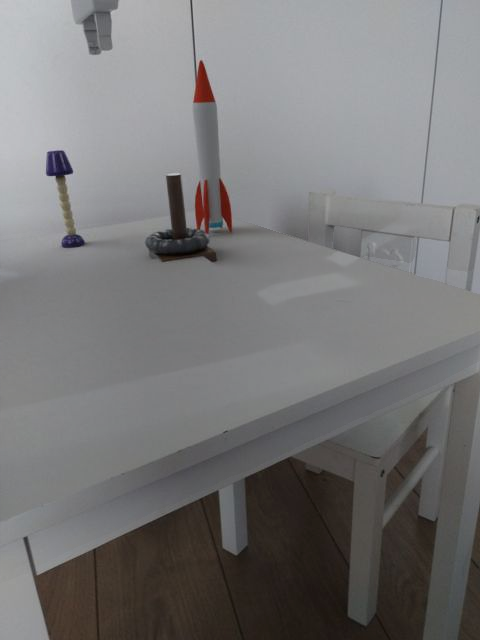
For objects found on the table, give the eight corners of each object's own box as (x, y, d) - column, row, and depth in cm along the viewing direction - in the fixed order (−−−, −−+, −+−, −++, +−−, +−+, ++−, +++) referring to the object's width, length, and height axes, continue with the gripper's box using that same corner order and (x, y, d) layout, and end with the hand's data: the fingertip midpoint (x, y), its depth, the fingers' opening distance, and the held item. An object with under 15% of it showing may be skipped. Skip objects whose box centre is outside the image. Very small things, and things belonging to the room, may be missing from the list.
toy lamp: (54, 245, 107) (36, 151, 100) (75, 240, 110) (58, 149, 103) (71, 248, 104) (53, 152, 97) (91, 242, 108) (75, 149, 101)
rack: (163, 269, 90) (152, 180, 84) (149, 256, 97) (138, 174, 91) (216, 260, 93) (210, 174, 87) (199, 248, 100) (192, 168, 95)
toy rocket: (233, 232, 110) (223, 58, 98) (206, 236, 108) (192, 59, 95) (222, 227, 115) (211, 60, 102) (196, 231, 113) (181, 61, 100)
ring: (154, 260, 89) (152, 245, 88) (141, 245, 98) (139, 231, 97) (217, 250, 92) (216, 236, 91) (199, 237, 101) (198, 224, 100)
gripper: (53, -43, 89) (70, 57, 94) (70, -77, 72) (89, 48, 77) (95, -41, 91) (108, 56, 97) (120, -74, 74) (135, 47, 80)
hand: (100, 52), depth 87 cm, fingers open, 8 cm apart
